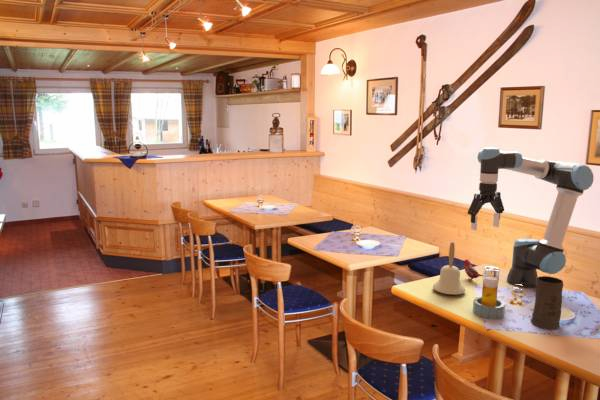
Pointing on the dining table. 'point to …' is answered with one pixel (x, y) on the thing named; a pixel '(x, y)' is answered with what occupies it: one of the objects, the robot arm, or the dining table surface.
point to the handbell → (449, 277)
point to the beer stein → (547, 302)
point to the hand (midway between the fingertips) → (484, 228)
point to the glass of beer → (489, 291)
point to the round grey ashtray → (488, 309)
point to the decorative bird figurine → (470, 270)
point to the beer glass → (491, 272)
